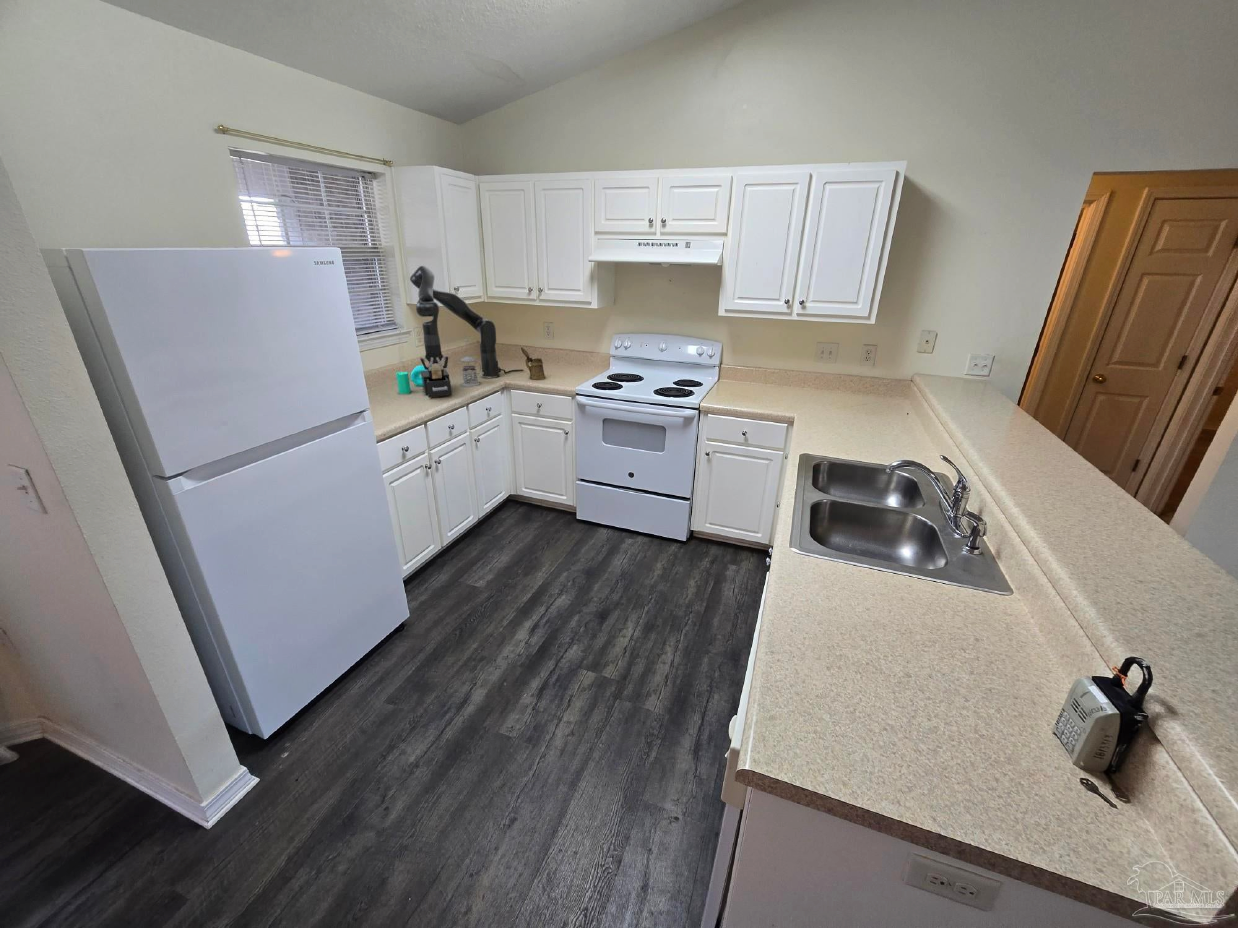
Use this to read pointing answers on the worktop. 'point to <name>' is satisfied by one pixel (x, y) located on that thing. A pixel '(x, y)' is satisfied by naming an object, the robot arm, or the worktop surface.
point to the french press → (473, 379)
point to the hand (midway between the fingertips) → (436, 376)
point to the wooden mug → (534, 366)
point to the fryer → (426, 375)
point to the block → (436, 373)
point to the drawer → (438, 387)
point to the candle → (403, 382)
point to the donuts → (417, 375)
